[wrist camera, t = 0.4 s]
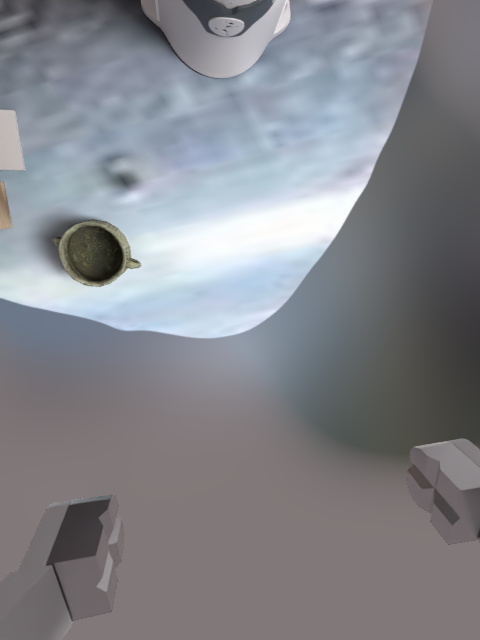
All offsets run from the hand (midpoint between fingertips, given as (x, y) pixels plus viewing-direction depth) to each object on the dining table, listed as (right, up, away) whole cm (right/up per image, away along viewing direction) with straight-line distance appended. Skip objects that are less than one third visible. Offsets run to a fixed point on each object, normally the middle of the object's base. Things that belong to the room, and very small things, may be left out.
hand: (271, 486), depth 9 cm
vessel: (-21, +15, +41) cm, 49 cm away
